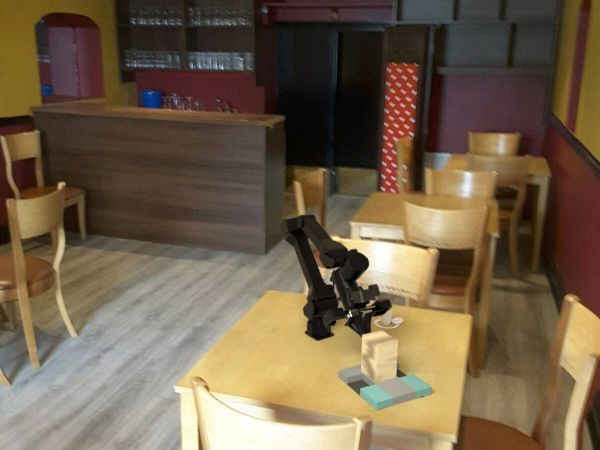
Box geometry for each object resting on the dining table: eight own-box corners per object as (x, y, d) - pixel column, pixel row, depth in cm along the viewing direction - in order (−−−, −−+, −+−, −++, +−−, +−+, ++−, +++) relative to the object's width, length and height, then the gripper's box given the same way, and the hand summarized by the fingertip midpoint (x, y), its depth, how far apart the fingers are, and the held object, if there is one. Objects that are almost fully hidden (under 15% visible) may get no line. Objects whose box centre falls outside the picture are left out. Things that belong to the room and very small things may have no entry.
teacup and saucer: (405, 322, 195) (405, 310, 194) (397, 332, 188) (398, 319, 187) (378, 317, 199) (378, 305, 198) (370, 327, 192) (370, 314, 191)
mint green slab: (359, 395, 152) (360, 388, 151) (413, 381, 159) (413, 373, 159) (376, 410, 146) (377, 402, 145) (431, 394, 153) (431, 386, 152)
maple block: (360, 370, 160) (362, 334, 158) (380, 365, 163) (381, 330, 160) (376, 382, 154) (377, 345, 152) (396, 377, 157) (398, 340, 154)
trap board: (338, 377, 161) (338, 370, 160) (389, 363, 168) (390, 357, 167) (376, 410, 146) (377, 402, 145) (431, 394, 153) (431, 386, 152)
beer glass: (343, 315, 199) (344, 271, 195) (321, 313, 201) (322, 269, 197) (346, 307, 206) (347, 264, 202) (325, 305, 207) (326, 262, 203)
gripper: (328, 280, 157) (350, 337, 150) (389, 269, 165) (413, 323, 158) (313, 299, 166) (333, 354, 159) (372, 288, 174) (394, 339, 167)
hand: (369, 342), depth 161 cm, fingers closed
